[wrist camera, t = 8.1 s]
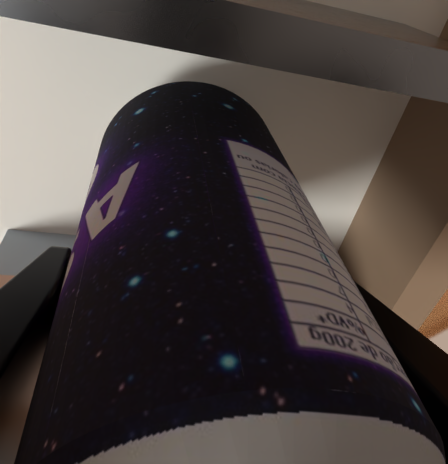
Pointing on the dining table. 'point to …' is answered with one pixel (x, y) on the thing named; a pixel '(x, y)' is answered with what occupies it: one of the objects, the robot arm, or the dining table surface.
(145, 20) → the grey flat plate
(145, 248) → the beverage can
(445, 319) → the dining table surface
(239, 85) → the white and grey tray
